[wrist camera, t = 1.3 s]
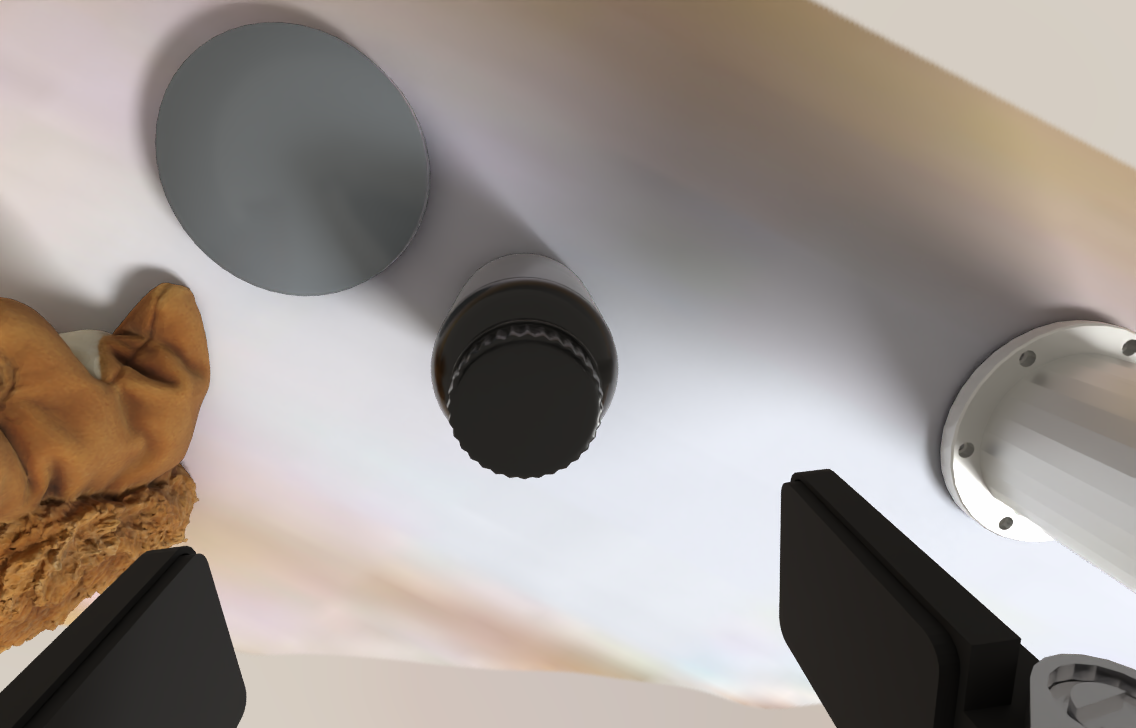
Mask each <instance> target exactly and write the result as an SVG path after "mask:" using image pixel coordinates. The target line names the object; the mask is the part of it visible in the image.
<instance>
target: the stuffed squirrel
mask: <svg viewBox="0 0 1136 728" xmlns="http://www.w3.org/2000/svg"><path fill="white" fill-rule="evenodd" d="M209 383H210V365H209V354H208V348H207V340H206V335H205V331H204V327H203V322H202V318H201V314H200V312H199V309H198V307H197V305H196V302H195V298H194V295H193V293H192V292H191V291H190V289H189V288H187V287H184V286H181V285H175V284H171V283H161V284H160V285H158V286H157V287H155V288H154V289H152V290H150V291H149V293H148V294H147V295H146V296H144V297H143V298H142V299H141V301H140V302H139V303H138V304H137V305H136V306H135V307H134V308H133V309H132V311H131V312H130V313H129V314H128V315H127V317H126V318H125V319H124V321H123V322H122V323H121V324H120V325H119V327H118V328H117V329H116V330H115V331H114V333H113V334H111V333H108V332H104V331H101V330H79V331H72V332H66V333H60V334H58V333H57V331H56V330H55V329H54V328H53V327H52V326H51V325H50V324H49V323H48V322H47V321H46V320H45V319H44V318H43V317H42V316H41V315H40V314H39V313H38V312H36V311H35V310H34V309H32V308H31V307H29V306H27V305H25V304H23V303H20V302H18V301H15V300H13V299H8V298H3V297H0V654H1V653H2V652H3V651H5V650H8V649H10V648H11V646H12V645H13V646H20V645H21V644H23V643H24V641H28V640H31V639H33V637H35V636H36V635H37V634H39V633H40V632H42V631H44V630H45V629H47V630H52V631H53V630H54V629H56V627H57V626H58V625H61V624H64V621H65V619H66V618H67V616H68V614H69V613H70V612H71V611H73V610H74V608H76V607H77V606H78V604H79V603H80V602H81V601H82V600H83V599H85V598H89V597H90V598H91V597H92V595H93V594H94V593H95V592H96V591H97V592H98V593H99V594H102V593H103V592H104V591H105V589H106V588H107V587H108V586H110V585H111V584H112V583H113V582H114V581H115V580H116V579H117V578H118V577H119V576H120V575H121V574H122V573H123V572H124V571H125V570H126V569H127V568H128V567H129V566H130V565H131V564H132V563H133V562H134V561H136V560H137V559H138V558H139V557H140V556H141V555H142V554H143V553H145V552H146V551H150V550H157V549H165V548H169V547H171V546H172V545H174V544H179V543H181V542H182V541H183V542H187V540H188V539H184V538H185V535H184V534H185V528H186V526H187V524H188V523H190V521H189V517H190V513H191V511H192V509H193V504H194V503H195V502H197V501H199V499H198V498H197V496H196V492H195V489H196V484H195V483H194V481H193V479H192V478H191V477H190V475H189V474H188V473H187V472H186V471H185V469H184V468H183V467H182V465H181V464H180V462H181V461H182V460H183V458H184V456H185V454H186V452H187V450H188V447H189V444H190V442H191V439H192V436H193V432H194V428H195V424H196V421H197V417H198V413H199V410H200V407H201V404H202V402H203V399H204V397H205V395H206V393H207V391H208V388H209Z"/></svg>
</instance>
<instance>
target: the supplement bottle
mask: <svg viewBox="0 0 1136 728" xmlns="http://www.w3.org/2000/svg"><path fill="white" fill-rule="evenodd" d="M431 378H432V384H433V389H434V393H435V396H436V399H437V401H438V404H439V406H440V408H441V410H442V412H443V414H444V415H445V417H446V418H447V420H448V421H449V423H450V425H451V426H452V428H453V435H454V437H455V438H456V439H458V440H459V442H460V446H461V448H462V449H463V450H465V451H467V452H468V454H469V456H470V458H471V459H473V460H475V461H478V462H479V464H480V465H481V466H482V467H483V468H487V469H491V470H492V471H493V472H494V473H495V474H504V475H505V476H507V477H509V478H513V477H519V478H522V479H527V478H529V477H535V478H540V477H542V476H543V475H545V474H554V473H555V472H556V471H558V470H559V469H564V468H567V467H568V466H569V464H570V463H571V462H574V461H576V460H578V459H579V457H580V455H581V453H583V452H585V451H586V450H587V449H588V447H589V443H590V442H591V441H592V440H593V439H594V438H595V437H596V430H597V428H598V427H599V426H600V424H601V419H602V418H603V417H604V415H605V413H606V412H607V410H608V408H609V406H610V404H611V401H612V399H613V396H614V393H615V389H616V385H617V378H618V358H617V352H616V347H615V344H614V341H613V337H612V335H611V332H610V330H609V328H608V326H607V324H606V322H605V320H604V319H603V317H602V315H601V313H600V311H599V310H598V308H597V306H596V304H595V303H594V301H593V299H592V297H591V296H590V294H589V292H588V290H587V289H586V287H585V286H584V284H583V283H582V282H581V280H580V279H579V278H578V277H577V276H576V275H575V274H574V273H573V272H572V271H571V270H570V269H568V268H567V267H566V266H564V265H563V264H561V263H560V262H558V261H556V260H554V259H551V258H549V257H546V256H542V255H538V254H530V253H518V254H511V255H506V256H503V257H500V258H497V259H495V260H493V261H491V262H489V263H487V264H486V265H484V266H483V267H481V268H480V269H479V270H478V271H477V272H475V273H474V274H473V275H472V276H471V278H470V279H469V280H468V281H467V283H466V284H465V285H464V287H463V288H462V290H461V292H460V293H459V295H458V297H457V299H456V301H455V302H454V304H453V306H452V308H451V310H450V311H449V313H448V315H447V317H446V319H445V320H444V322H443V324H442V326H441V328H440V330H439V332H438V335H437V338H436V341H435V344H434V348H433V352H432V359H431Z"/></svg>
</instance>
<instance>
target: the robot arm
mask: <svg viewBox="0 0 1136 728" xmlns="http://www.w3.org/2000/svg"><path fill="white" fill-rule="evenodd" d="M940 454H941V470H942V473H943V477H944V480H945V484H946V487H947V489H948V491H949V492H950V494H951V496H952V498H953V500H954V501H955V503H956V504H957V505H958V506H959V507H960V508H961V509H962V510H963V511H964V512H965V514H966V515H968V516H969V517H970V518H972V519H973V520H975V521H976V522H977V523H979V524H980V525H981V526H982V527H984V528H985V529H987V530H989V531H991V532H993V533H995V534H997V535H999V536H1002V537H1006V538H1010V539H1014V540H1018V541H1034V542H1040V541H1048V540H1055V541H1057V542H1058V543H1060V544H1061V545H1063V546H1064V547H1066V548H1067V549H1069V550H1070V551H1072V552H1073V553H1075V554H1076V555H1078V556H1079V557H1081V558H1082V559H1084V560H1086V561H1087V562H1089V563H1090V564H1092V565H1093V566H1095V567H1096V568H1098V569H1099V570H1101V571H1102V572H1104V573H1105V574H1107V575H1108V576H1110V577H1111V578H1113V579H1114V580H1116V581H1117V582H1119V583H1120V584H1122V585H1123V586H1125V587H1127V588H1128V589H1130V590H1131V591H1133V592H1134V593H1136V333H1135V332H1133V331H1131V330H1129V329H1127V328H1124V327H1120V326H1116V325H1112V324H1108V323H1104V322H1099V321H1088V320H1072V321H1062V322H1056V323H1052V324H1049V325H1045V326H1042V327H1039V328H1035V329H1033V330H1031V331H1029V332H1027V333H1025V334H1023V335H1021V336H1019V337H1016V338H1014V339H1013V340H1011V341H1010V342H1008V343H1007V344H1005V345H1004V346H1003V347H1001V348H1000V349H998V350H997V351H995V352H994V353H993V354H992V355H991V356H990V357H989V358H988V359H986V360H985V361H984V362H983V363H982V364H981V365H980V366H979V367H978V368H977V369H976V370H975V371H974V373H973V374H972V375H971V377H970V378H969V379H968V380H967V382H966V383H965V384H964V386H963V387H962V388H961V390H960V392H959V394H958V395H957V397H956V399H955V401H954V403H953V405H952V407H951V408H950V411H949V414H948V417H947V420H946V423H945V426H944V429H943V435H942V442H941V449H940ZM779 620H780V627H781V631H782V634H783V637H784V639H785V641H786V643H787V645H788V647H789V648H790V650H791V652H792V654H793V655H794V657H795V659H796V660H797V662H798V664H799V665H800V667H801V669H802V670H803V672H804V674H805V675H806V677H807V679H808V680H809V682H810V684H811V685H812V687H813V689H814V690H815V692H816V694H817V696H818V697H819V699H820V701H821V702H822V704H823V706H824V707H825V709H826V711H827V712H828V714H829V716H830V717H831V719H832V721H833V722H834V724H835V726H836V727H837V728H1136V670H1135V669H1132V668H1129V667H1126V666H1124V665H1121V664H1118V663H1115V662H1112V661H1110V660H1106V659H1102V658H1097V657H1092V656H1087V655H1081V654H1058V655H1054V656H1049V657H1045V658H1043V659H1042V660H1041V661H1039V660H1038V659H1037V658H1036V657H1035V656H1034V655H1032V654H1031V653H1030V652H1029V651H1028V650H1027V649H1026V648H1025V647H1024V646H1022V645H1021V644H1020V643H1021V638H1020V637H1019V636H1018V635H1017V634H1015V633H1014V632H1013V631H1012V630H1011V629H1010V628H1009V627H1008V626H1006V625H1005V624H1004V623H1003V622H1002V621H1001V620H1000V619H999V618H997V617H996V616H995V615H994V614H993V613H992V612H991V611H990V610H989V609H987V608H986V607H985V606H984V605H983V604H982V603H981V602H980V601H978V600H977V599H976V598H975V597H974V596H973V595H972V594H971V593H969V592H968V591H967V590H966V589H965V588H964V587H963V586H962V585H960V584H959V583H958V582H957V581H956V580H955V579H954V578H953V577H951V576H950V575H949V574H948V573H947V572H946V571H945V570H944V569H942V568H941V567H940V566H939V565H938V564H937V563H936V562H935V561H934V560H932V559H931V558H930V557H929V556H928V555H927V554H926V553H925V552H923V551H922V550H921V549H920V548H919V547H918V546H917V545H916V544H914V543H913V542H912V541H911V540H910V539H909V538H908V537H907V536H905V535H904V534H903V533H902V532H901V531H900V530H899V529H898V528H896V527H895V526H894V525H893V524H892V523H891V522H890V521H889V520H887V519H886V518H885V517H884V516H883V515H882V514H881V513H880V512H878V511H877V510H876V509H875V508H874V507H873V506H872V505H871V504H870V503H868V502H867V501H866V500H865V499H864V498H863V497H862V496H861V495H859V494H858V493H857V492H856V491H855V490H854V489H853V488H852V487H850V486H849V485H848V484H847V483H846V482H845V481H844V480H843V479H841V478H840V477H839V476H838V475H837V474H836V473H835V472H834V471H832V470H830V469H822V470H814V471H806V472H797V473H794V474H793V475H792V478H791V481H790V482H788V483H784V484H783V486H782V489H781V536H780V603H779ZM245 706H246V689H245V685H244V682H243V679H242V675H241V672H240V668H239V665H238V662H237V658H236V655H235V652H234V648H233V645H232V641H231V638H230V635H229V631H228V628H227V625H226V621H225V618H224V615H223V611H222V608H221V605H220V601H219V598H218V594H217V591H216V588H215V584H214V581H213V578H212V574H211V571H210V568H209V564H208V561H207V559H206V557H205V556H204V555H202V554H196V552H195V551H194V550H193V549H192V548H191V547H189V546H181V547H173V548H165V549H157V550H150V551H146V552H145V553H143V554H142V555H141V556H140V557H139V558H138V559H137V560H136V561H134V562H133V563H132V564H131V565H130V566H129V567H128V568H127V569H126V570H125V571H124V572H123V573H122V574H121V575H120V576H119V577H118V578H117V579H116V580H115V581H114V582H113V583H112V584H111V585H110V586H109V587H108V588H107V589H106V590H105V591H104V592H103V593H102V594H101V595H100V596H99V597H98V598H97V599H96V600H95V601H94V602H93V603H92V604H91V605H90V606H89V607H88V608H86V609H85V610H84V611H83V612H82V613H81V614H80V615H79V616H78V617H77V618H76V619H75V620H74V621H73V622H72V623H71V624H70V625H69V626H68V627H67V628H66V629H65V630H64V631H63V632H62V633H61V634H60V635H59V636H58V637H57V638H56V639H55V640H54V641H53V642H52V643H51V644H50V645H49V646H48V647H47V648H46V649H45V650H44V651H43V652H42V653H41V654H40V655H38V656H37V657H36V658H35V659H34V660H33V661H32V662H31V663H30V664H29V665H28V666H27V667H26V668H25V669H24V670H23V671H22V672H21V673H20V674H19V675H18V676H17V677H16V678H15V679H14V680H13V681H12V682H11V683H10V684H9V685H8V686H7V687H6V688H5V689H4V690H3V691H2V692H1V693H0V728H237V726H238V724H239V722H240V720H241V718H242V716H243V713H244V710H245Z"/></svg>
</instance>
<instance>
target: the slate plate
mask: <svg viewBox="0 0 1136 728" xmlns="http://www.w3.org/2000/svg"><path fill="white" fill-rule="evenodd" d="M155 145H156V159H157V165H158V170H159V175H160V180H161V183H162V186H163V189H164V192H165V195H166V197H167V200H168V202H169V204H170V206H171V208H172V210H173V212H174V214H175V216H176V217H177V219H178V221H179V222H180V224H181V225H182V227H183V229H184V230H185V231H186V233H187V234H188V235H189V236H190V238H191V239H192V240H193V241H194V243H195V244H196V245H197V246H198V247H199V248H200V249H201V250H202V251H203V252H204V253H205V254H206V255H207V256H208V257H209V258H211V259H212V260H213V261H214V262H215V263H217V264H218V265H219V266H220V267H222V268H223V269H225V270H226V271H228V272H229V273H231V274H233V275H234V276H236V277H237V278H239V279H242V280H244V281H246V282H248V283H250V284H252V285H254V286H257V287H260V288H263V289H266V290H269V291H273V292H277V293H282V294H286V295H297V296H319V295H325V294H332V293H337V292H340V291H343V290H347V289H350V288H352V287H354V286H357V285H359V284H361V283H363V282H365V281H367V280H369V279H370V278H372V277H374V276H375V275H377V274H379V273H380V272H382V271H383V270H385V269H386V268H387V267H388V266H390V265H391V264H392V263H393V262H394V261H395V260H397V259H398V257H399V256H400V255H401V254H402V253H403V252H404V251H405V249H406V248H407V247H408V245H409V244H410V242H411V241H412V239H413V238H414V236H415V235H416V233H417V230H418V228H419V226H420V224H421V222H422V219H423V216H424V213H425V210H426V207H427V201H428V196H429V188H430V167H429V156H428V152H427V147H426V142H425V139H424V136H423V133H422V130H421V127H420V124H419V122H418V120H417V118H416V116H415V113H414V111H413V109H412V107H411V106H410V104H409V103H408V101H407V100H406V98H405V96H404V95H403V93H402V92H401V91H400V90H399V88H398V87H397V86H396V85H395V83H394V82H393V81H392V80H391V79H390V78H389V77H388V76H387V75H386V74H385V73H384V72H383V71H382V70H381V69H380V68H379V67H378V66H377V65H376V64H374V63H373V62H372V61H371V60H370V59H369V58H367V57H366V56H365V55H363V54H362V53H361V52H359V51H358V50H357V49H355V48H354V47H352V46H351V45H349V44H347V43H345V42H344V41H342V40H340V39H339V38H337V37H334V36H332V35H330V34H327V33H325V32H323V31H320V30H317V29H314V28H310V27H306V26H303V25H298V24H290V23H283V22H264V23H257V24H250V25H244V26H241V27H238V28H235V29H232V30H228V31H226V32H224V33H222V34H220V35H218V36H216V37H214V38H212V39H211V40H209V41H208V42H206V43H205V44H203V45H202V46H201V47H199V48H198V49H197V50H196V51H195V52H194V53H192V54H191V55H190V56H189V57H188V58H187V59H186V60H185V61H184V63H183V64H182V65H181V67H180V68H179V69H178V71H177V72H176V73H175V75H174V76H173V78H172V80H171V82H170V84H169V86H168V88H167V89H166V92H165V95H164V97H163V100H162V103H161V106H160V110H159V115H158V119H157V124H156V140H155Z"/></svg>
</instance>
